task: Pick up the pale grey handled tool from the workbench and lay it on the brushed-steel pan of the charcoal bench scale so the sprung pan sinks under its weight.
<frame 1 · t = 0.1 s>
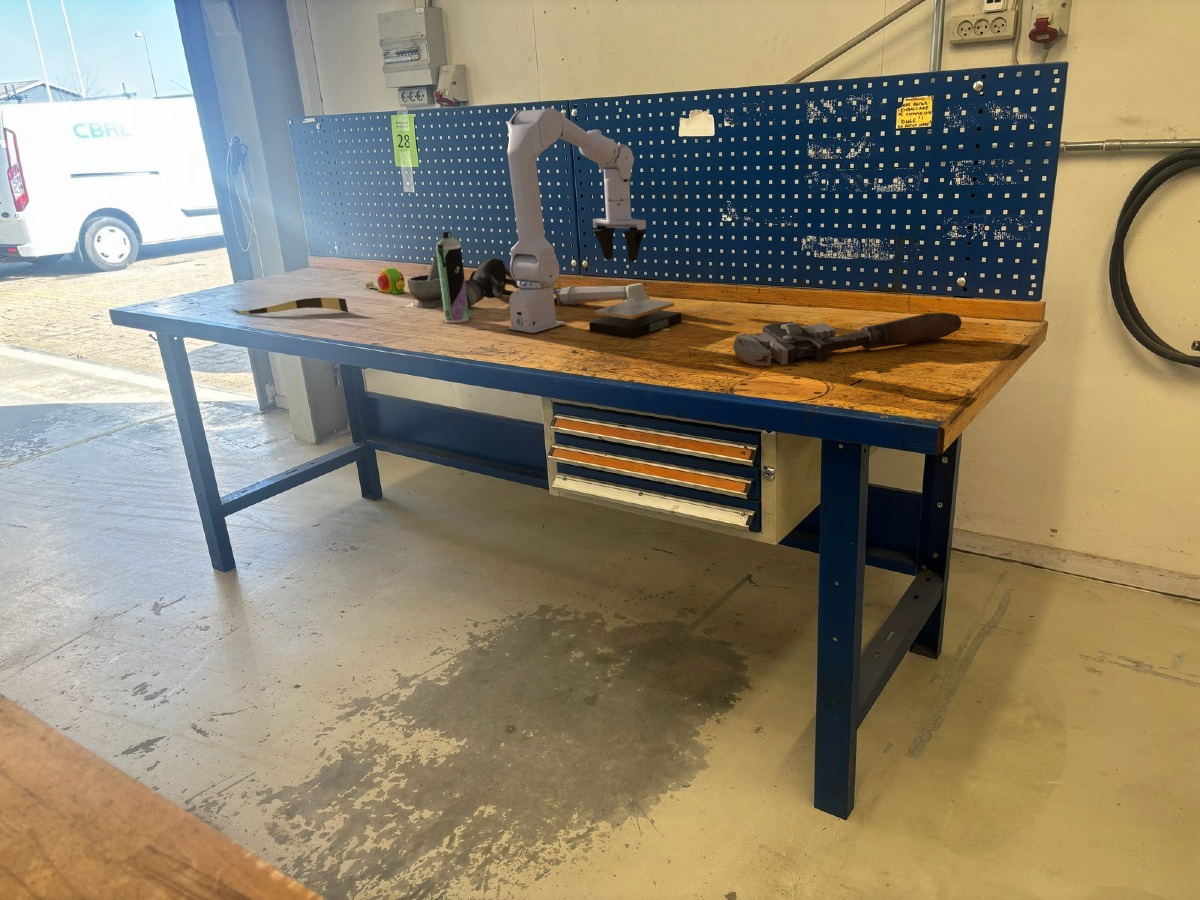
hand: (620, 259, 200), 10 cm above the table, tool pointing down, fingers open, 7 cm apart
tape: (285, 312, 218), on the table
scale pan: (635, 310, 178), point 3 cm above the table, slide at 0.0 cm
pale grey handled tool: (603, 308, 199), on the table
scale: (636, 326, 180), on the table
toy measuring tape: (386, 291, 238), on the table
spray can: (457, 321, 196), on the table
pipe wrench: (844, 348, 155), on the table
mortar and pestle: (432, 305, 215), on the table
respirator mask: (512, 303, 211), on the table
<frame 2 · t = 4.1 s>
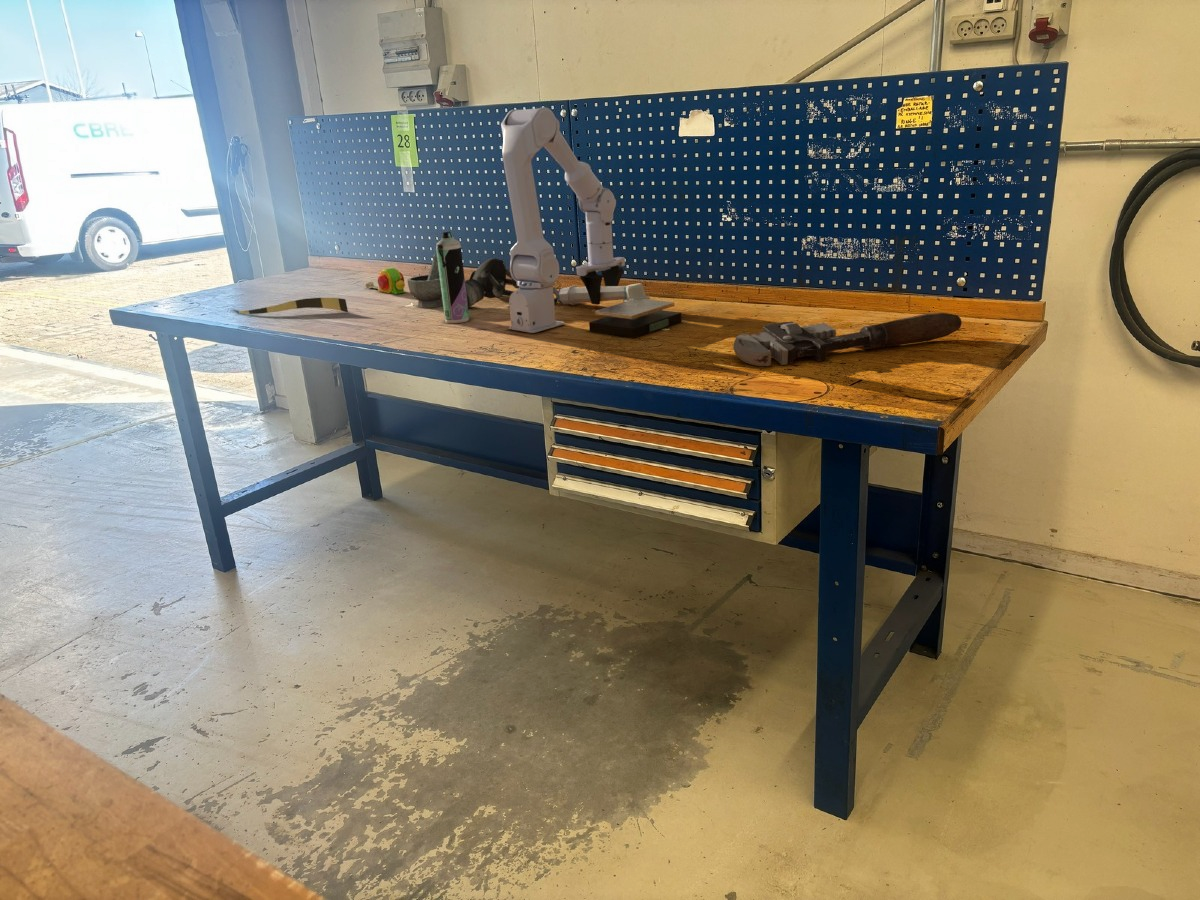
hand: (603, 301, 199), 1 cm above the table, tool pointing down, fingers closed on pale grey handled tool, 5 cm apart
pale grey handled tool: (603, 308, 199), on the table, touching gripper
everything else where it was.
when the fingers open (6 cm above the table, at t = 8.0 s): pale grey handled tool stays where it is, resting on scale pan.
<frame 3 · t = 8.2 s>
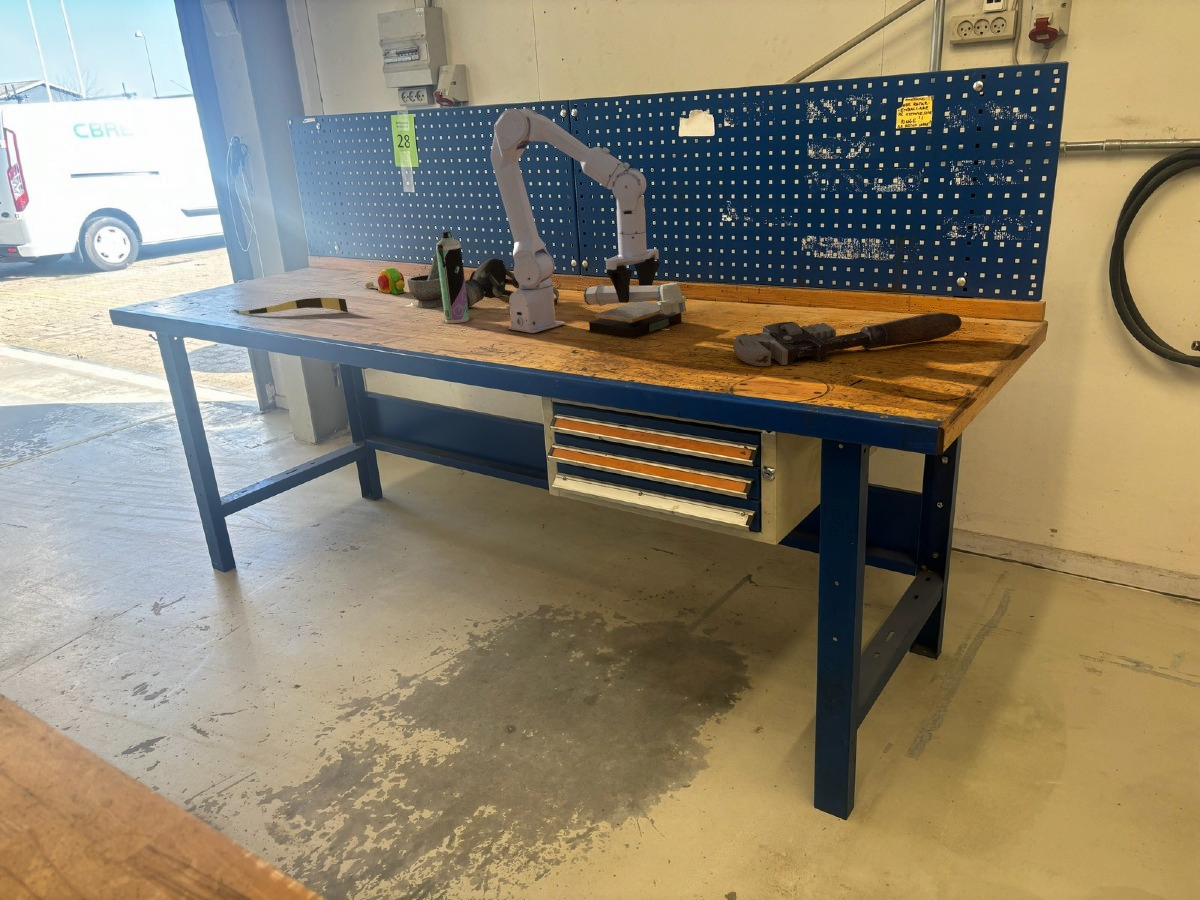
hand: (634, 299, 177), 6 cm above the table, tool pointing down, fingers open, 6 cm apart
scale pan: (635, 313, 178), point 3 cm above the table, slide at -0.7 cm, touching pale grey handled tool
pale grey handled tool: (635, 310, 178), point 3 cm above the table, touching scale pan
everything else where it was.
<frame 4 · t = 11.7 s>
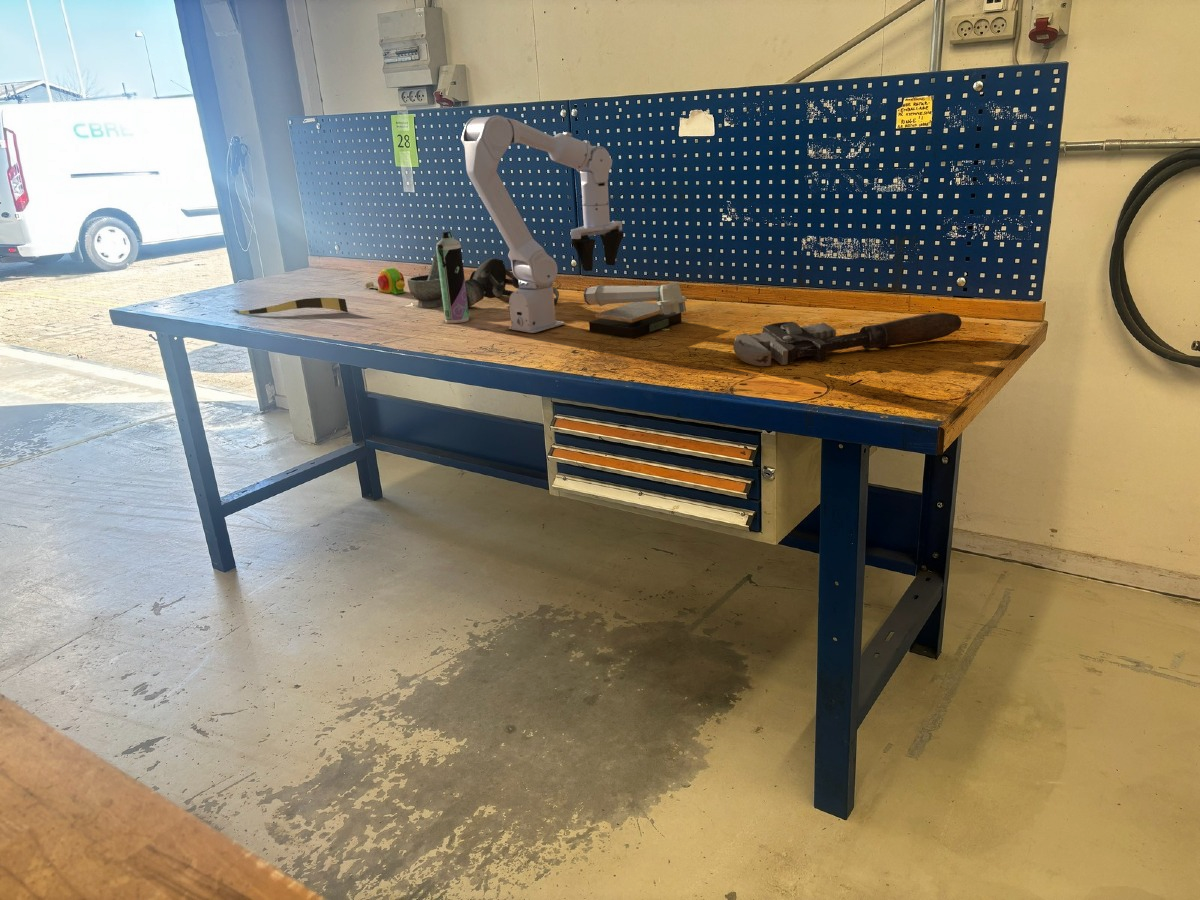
hand: (599, 267, 189), 10 cm above the table, tool pointing down, fingers open, 7 cm apart
nothing on the table moved.
at the end: pale grey handled tool inside the target area on the scale (0.1 cm from its centre), point 3.4 cm above the scale's base; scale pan slide at -0.7 cm; the gripper is holding nothing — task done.
